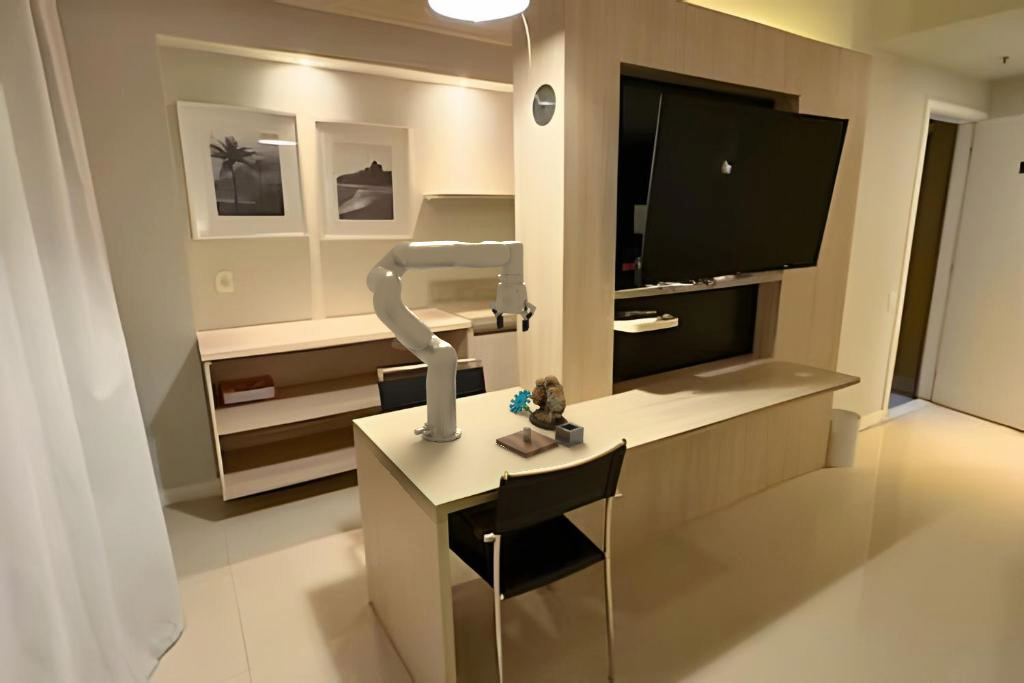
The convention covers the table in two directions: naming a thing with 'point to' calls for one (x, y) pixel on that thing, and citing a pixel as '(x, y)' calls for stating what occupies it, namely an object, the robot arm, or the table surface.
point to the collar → (569, 434)
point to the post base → (527, 442)
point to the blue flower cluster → (521, 402)
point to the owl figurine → (548, 403)
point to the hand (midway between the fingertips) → (512, 329)
